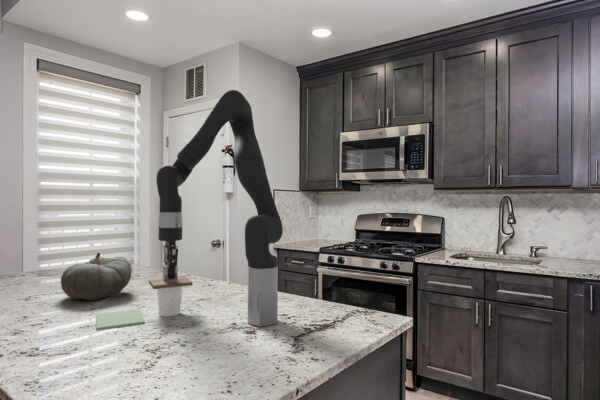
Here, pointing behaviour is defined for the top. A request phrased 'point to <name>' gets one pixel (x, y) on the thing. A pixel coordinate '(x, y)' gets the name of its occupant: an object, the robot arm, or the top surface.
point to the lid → (169, 280)
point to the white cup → (169, 301)
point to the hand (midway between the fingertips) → (170, 277)
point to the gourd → (96, 278)
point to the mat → (119, 319)
